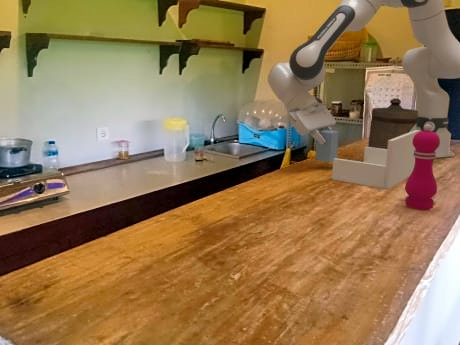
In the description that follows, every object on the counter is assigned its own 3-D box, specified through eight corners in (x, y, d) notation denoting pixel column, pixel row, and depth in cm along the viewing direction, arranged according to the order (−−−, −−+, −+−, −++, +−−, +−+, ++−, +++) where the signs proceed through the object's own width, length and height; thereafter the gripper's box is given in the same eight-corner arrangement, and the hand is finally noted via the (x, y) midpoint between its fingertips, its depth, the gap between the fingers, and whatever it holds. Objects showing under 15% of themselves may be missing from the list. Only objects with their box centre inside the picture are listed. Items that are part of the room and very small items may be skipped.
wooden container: (419, 168, 156) (426, 100, 151) (373, 167, 157) (379, 99, 151) (403, 158, 171) (410, 96, 165) (362, 158, 171) (367, 96, 166)
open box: (364, 167, 156) (368, 125, 152) (415, 175, 146) (420, 130, 143) (331, 182, 137) (334, 134, 133) (387, 192, 127) (392, 140, 124)
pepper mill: (401, 207, 115) (409, 124, 110) (405, 199, 121) (413, 121, 116) (433, 212, 112) (443, 127, 107) (436, 204, 118) (446, 123, 113)
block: (322, 157, 153) (324, 129, 151) (336, 159, 150) (338, 131, 148) (315, 160, 149) (316, 131, 147) (329, 162, 146) (331, 133, 144)
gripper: (292, 103, 141) (320, 139, 138) (323, 99, 157) (349, 131, 154) (279, 117, 145) (306, 152, 142) (311, 111, 161) (335, 143, 158)
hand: (329, 141), depth 148 cm, fingers closed on block, 5 cm apart
